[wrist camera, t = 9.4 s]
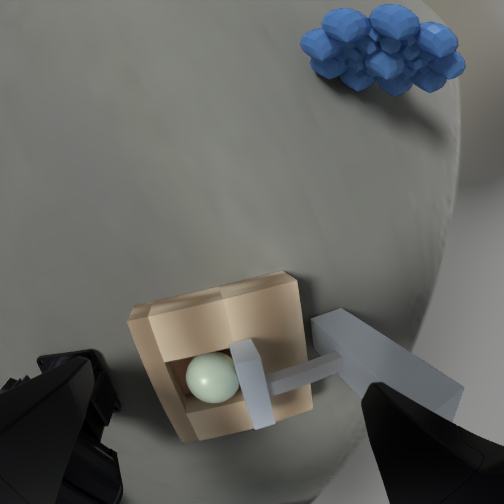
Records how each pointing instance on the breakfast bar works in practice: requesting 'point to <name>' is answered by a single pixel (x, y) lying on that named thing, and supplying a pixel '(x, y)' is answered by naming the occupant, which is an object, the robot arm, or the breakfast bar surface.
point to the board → (221, 348)
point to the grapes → (383, 50)
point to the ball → (212, 377)
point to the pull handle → (345, 368)
